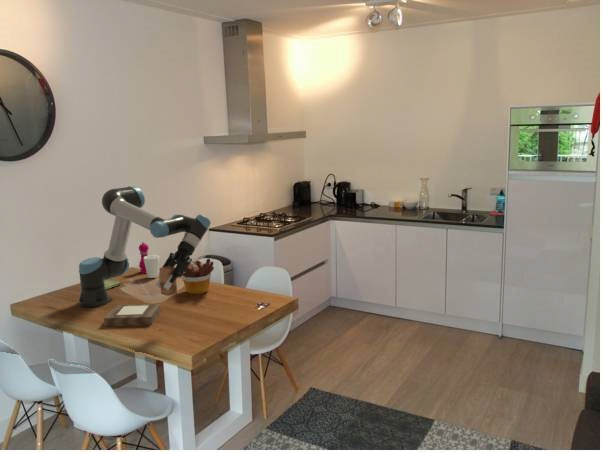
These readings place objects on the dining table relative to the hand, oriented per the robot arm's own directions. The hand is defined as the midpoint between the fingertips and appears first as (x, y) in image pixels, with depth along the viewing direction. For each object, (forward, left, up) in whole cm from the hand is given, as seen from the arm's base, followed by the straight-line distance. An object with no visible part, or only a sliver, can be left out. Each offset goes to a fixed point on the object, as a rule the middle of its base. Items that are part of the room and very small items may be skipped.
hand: (161, 287), depth 237 cm
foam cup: (-27, +87, -21) cm, 93 cm away
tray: (-19, +16, -20) cm, 32 cm away
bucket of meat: (+6, +56, -21) cm, 60 cm away
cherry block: (+2, +3, -4) cm, 5 cm away
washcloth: (-52, +72, -21) cm, 91 cm away
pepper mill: (-35, +100, -21) cm, 108 cm away
